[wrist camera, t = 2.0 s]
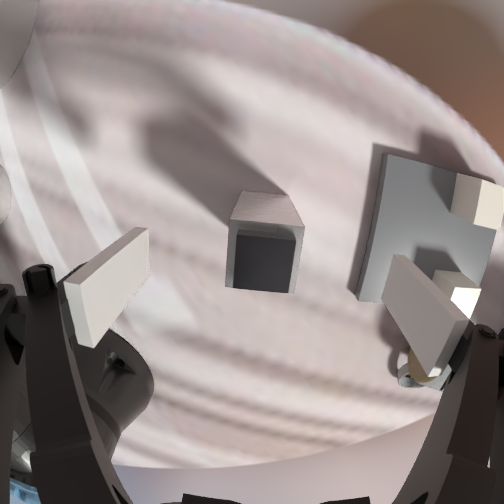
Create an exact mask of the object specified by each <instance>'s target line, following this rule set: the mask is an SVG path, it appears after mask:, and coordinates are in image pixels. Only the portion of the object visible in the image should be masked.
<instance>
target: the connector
mask: <svg viewBox="0 0 504 504" xmlns="http://www.w3.org/2000/svg"><path fill="white" fill-rule="evenodd" d="M304 229H305V226H304V224H303V222H302V220H301V218H300V216H299V214H298V212H297V210H296V208H295V206H294V204H293V203H292V201H291V199H290V197H289V195H280V194H271V193H261V192H251V191H242V192H241V194H240V197H239V199H238V201H237V203H236V206H235V208H234V210H233V212H232V215H231V217H230V219H229V233H228V248H227V263H226V280H225V287H232V288H237V289H248V290H258V291H269V292H280V293H294V291H295V286H296V280H297V274H298V268H299V262H300V256H301V249H302V243H303V236H304Z"/></svg>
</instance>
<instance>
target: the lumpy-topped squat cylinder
mask: <svg viewBox="0 0 504 504" xmlns="http://www.w3.org/2000/svg"><path fill="white" fill-rule="evenodd" d="M38 6H39V1H38V0H0V88H2V87H3V86H4V85H5V84H6V83H7V82H8V80H9V79H10V78H11V76H12V75H13V73H14V72H15V70H16V68H17V66H18V65H19V63H20V61H21V59H22V57H23V55H24V53H25V51H26V49H27V47H28V44H29V41H30V38H31V35H32V31H33V28H34V24H35V20H36V16H37V11H38Z"/></svg>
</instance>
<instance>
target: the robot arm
mask: <svg viewBox="0 0 504 504" xmlns="http://www.w3.org/2000/svg"><path fill="white" fill-rule="evenodd" d="M22 276H23V281H24V285H25V289H26V293H27V296H16V293H15V289H14V287H13V285H11V284H0V504H9V503H10V494H12V495H13V496H15V497H17V498H18V499H20V500H21V501H23V502H25V503H27V504H133V502H132V501H131V500H130V497H129V496H128V494H127V493H126V491H125V489H124V488H123V486H122V484H121V482H120V480H119V478H118V476H117V474H116V472H115V470H114V468H113V465H112V463H111V458H112V455H113V453H114V450H115V447H116V445H117V442H118V440H119V437H120V435H121V433H122V431H123V430H124V429H125V428H127V427H128V426H129V425H130V424H131V423H132V422H133V421H134V420H135V419H136V418H137V417H138V416H139V415H140V414H141V412H143V411H144V410H145V408H146V407H147V405H148V404H149V401H150V399H151V396H152V394H153V391H154V380H153V376H152V374H151V371H150V369H149V367H148V365H147V364H146V362H145V361H144V360H143V358H142V357H141V356H140V355H139V353H138V352H137V351H136V350H135V349H134V348H133V347H132V346H131V345H129V344H128V343H127V342H126V341H124V340H123V339H122V338H120V337H119V336H117V335H116V334H114V333H113V332H111V331H109V330H108V329H109V327H110V326H111V325H112V323H113V322H114V321H115V319H116V318H117V317H118V316H119V314H120V313H121V312H122V310H123V309H124V308H125V307H126V305H127V304H128V303H129V301H130V300H131V299H132V298H133V296H134V295H135V294H136V293H137V291H138V290H139V289H140V288H141V286H142V285H143V284H144V283H145V281H146V280H147V279H148V278H149V276H150V261H149V232H148V228H141V227H135V228H133V229H132V230H131V231H129V232H128V233H126V234H125V235H124V236H122V237H121V238H119V239H118V240H117V241H115V242H114V243H113V244H111V245H110V246H109V247H107V248H106V249H104V250H103V251H102V252H100V253H99V254H98V255H96V256H95V257H94V258H93V259H91V260H90V261H88V262H86V263H84V264H81V265H79V266H78V267H76V268H75V269H74V270H73V271H71V272H70V273H69V274H68V275H66V276H65V277H64V278H62V279H61V280H60V281H59V282H57V283H56V279H55V274H54V268H53V267H52V266H51V265H49V264H38V265H34V266H31V267H29V268H27V269H26V270H25V271H24V272H23V274H22ZM381 300H382V301H383V303H384V304H385V306H386V307H387V309H388V311H389V312H390V314H391V315H392V317H393V319H394V320H395V322H396V323H397V325H398V327H399V328H400V330H401V331H402V333H403V335H404V336H405V338H406V340H407V341H408V343H409V345H410V347H411V348H412V350H413V352H414V353H415V355H416V357H417V359H418V360H419V362H420V364H421V366H422V367H423V369H424V371H425V373H426V375H427V376H428V377H433V376H441V375H442V374H443V372H444V370H445V368H446V367H447V365H448V364H449V366H450V368H451V369H452V370H451V372H450V374H449V375H448V377H447V379H446V380H445V382H444V384H443V385H442V387H441V389H440V390H441V391H442V390H443V389H444V390H443V393H442V396H441V399H440V402H439V405H438V408H437V411H436V414H435V416H434V419H433V422H432V425H431V427H430V429H429V432H428V435H427V437H426V439H425V441H424V444H423V446H422V449H421V451H420V453H419V455H418V457H417V459H416V461H415V463H414V465H413V468H412V470H411V471H410V474H409V475H408V477H407V479H406V481H405V483H404V485H403V487H402V488H401V490H400V492H399V494H398V495H397V497H396V499H395V500H394V502H393V503H392V504H504V340H499V339H498V336H497V334H496V332H495V331H493V330H492V329H491V328H489V327H488V326H485V325H481V324H477V325H474V324H473V323H472V322H471V321H470V320H469V318H468V317H467V316H466V315H465V314H464V313H463V312H462V311H461V310H460V309H459V308H458V307H457V306H456V304H455V303H454V302H453V301H451V300H450V299H449V298H448V297H447V296H446V295H445V294H444V293H443V292H442V291H441V290H440V289H439V288H438V287H437V286H436V285H435V284H434V283H433V282H432V281H431V280H430V279H429V278H428V277H427V276H426V275H425V274H424V273H423V272H422V271H421V270H420V269H419V268H418V267H417V266H416V265H415V264H414V263H413V262H412V261H411V260H410V259H408V258H407V257H406V256H405V255H399V254H393V257H392V261H391V265H390V268H389V272H388V276H387V279H386V283H385V286H384V289H383V293H382V296H381ZM489 456H490V468H488V467H487V465H488V460H489ZM162 504H241V503H237V502H234V501H231V500H223V499H214V498H207V497H201V496H195V495H190V494H183V498H182V502H172V503H162ZM321 504H370V499H369V496H368V497H362V498H355V499H347V500H339V501H328V502H324V503H321Z"/></svg>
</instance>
